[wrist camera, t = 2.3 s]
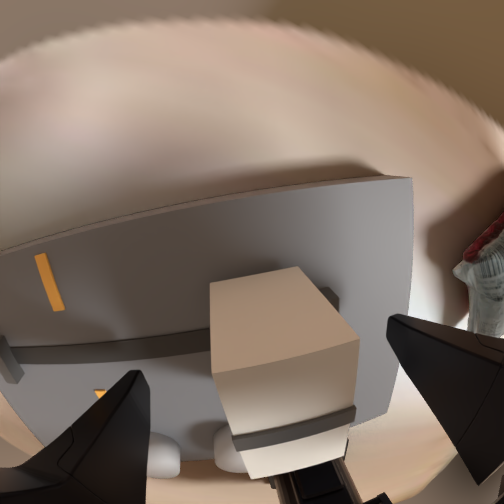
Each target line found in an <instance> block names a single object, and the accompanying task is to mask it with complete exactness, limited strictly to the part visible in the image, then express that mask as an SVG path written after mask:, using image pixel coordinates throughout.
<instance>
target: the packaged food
mask: <svg viewBox="0 0 504 504" xmlns="http://www.w3.org/2000/svg"><path fill="white" fill-rule="evenodd" d="M452 271H453V274H454V276H455V277H457V278H458V279H460V280H461V281H463V282H465V283H466V285H467V288H468V292H469V318H468V327H467V331H470V332H474V333H478V334H482V335H487V336H492V337H497V338H500V337H501V336H502V335H504V211H503V213H502V214H501V215H500V217H499V218H498V220H496V221H495V222H493V223H492V224H491V225H490V226H489V227H488V229H487V230H486V231H485V232H484V233H482V234H481V235H480V236H479V237H478V238H477V239H476V240H475V241H474V242H473V243H472V244H471V245H470V246H469V247H468V248H467V249H466V250H465V251H464V253H463V260H462V261H461V262H460V263H459V264H458V265H457V266H456V267H455V268H454V269H453V270H452Z"/></svg>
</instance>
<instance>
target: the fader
mask: <svg viewBox="0 0 504 504" xmlns="http://www.w3.org/2000/svg"><path fill="white" fill-rule="evenodd" d="M210 339H211V370H212V376H213V379H214V382H215V385H216V388H217V391H218V394H219V397H220V400H221V403H222V406H223V409H224V411H225V414H226V417H227V420H228V423H229V425H230V428H231V431H232V433H233V435H231V437H232V442H233V444H234V447H235V449H236V451H237V452H239V451H240V454H241V456H242V459H243V461H244V464H245V466H246V469H247V471H248V473H249V476H250V478H251V479H256V478H262V477H267V476H272V475H277V474H282V473H286V472H290V471H294V470H298V469H302V468H306V467H310V466H313V465H317V464H320V463H323V462H326V461H330V460H333V459H336V458H339V457H342V456H344V452H345V448H346V443H347V438H348V432H349V427H350V423H352V422H354V421H355V415H356V409H357V408H356V407H355V405H353V401H354V394H355V386H356V378H357V369H358V359H359V348H360V337H359V336H358V335H357V334H356V333H355V332H354V330H353V329H352V328H351V327H350V326H349V324H348V323H347V322H346V321H345V320H344V319H343V317H342V316H341V315H340V314H339V313H338V312H337V310H336V309H335V308H334V307H333V306H332V305H331V304H330V302H329V301H328V300H327V299H326V298H325V297H324V295H323V294H322V293H321V292H320V291H319V290H318V289H317V287H316V286H315V285H314V284H313V283H312V282H311V281H310V279H309V278H308V277H307V276H306V275H305V274H304V273H303V272H302V270H301V269H300V268H299V267H298V266H296V267H291V268H286V269H281V270H276V271H270V272H265V273H260V274H255V275H250V276H244V277H239V278H234V279H229V280H223V281H218V282H212V283H210Z"/></svg>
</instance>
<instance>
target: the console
mask: <svg viewBox="0 0 504 504" xmlns="http://www.w3.org/2000/svg"><path fill="white" fill-rule="evenodd" d="M413 239H414V208H413V183H412V178H410V177H400V176H390V175H381V176H369V177H358V178H348V179H338V180H329V181H320V182H312V183H304V184H296V185H289V186H281V187H274V188H267V189H261V190H254V191H248V192H242V193H236V194H230V195H224V196H218V197H213V198H207V199H202V200H197V201H192V202H186V203H181V204H176V205H172V206H167V207H162V208H157V209H153V210H148V211H144V212H139V213H135V214H131V215H126V216H122V217H118V218H114V219H110V220H106V221H102V222H98V223H94V224H90V225H86V226H83V227H79V228H75V229H72V230H68V231H64V232H61V233H57V234H54V235H51V236H47V237H44V238H41V239H37V240H34V241H31V242H28V243H25V244H21V245H18V246H15V247H12V248H9V249H6V250H3V251H0V391H1V393H2V394H3V396H4V397H5V399H6V400H7V401H8V403H9V404H10V406H11V407H12V408H13V410H14V411H15V412H16V414H17V415H18V416H19V417H20V419H21V420H22V421H23V422H24V424H25V425H26V426H27V427H28V428H29V430H30V431H31V432H32V433H33V434H34V435H35V437H36V438H37V439H38V440H39V441H40V442H41V443H42V444H43V445H44V447H46V446H47V445H49V444H50V443H51V442H52V441H54V440H55V439H56V438H57V437H58V436H59V435H61V434H62V433H63V432H64V431H65V430H66V429H67V428H68V427H69V426H71V425H72V424H73V423H74V422H75V421H76V420H77V419H78V418H79V417H80V416H81V415H82V414H83V413H84V412H85V411H87V410H88V409H89V408H90V407H91V406H92V405H93V404H94V403H95V402H96V401H97V400H98V399H99V398H100V397H101V396H103V395H104V394H105V393H106V392H107V391H108V390H109V389H110V388H111V387H112V386H113V385H114V384H115V383H116V382H117V381H119V380H120V379H121V378H122V377H123V376H124V375H125V374H126V373H127V372H128V371H129V370H137V369H139V370H141V371H142V372H143V374H144V376H145V379H146V381H147V383H148V385H149V387H150V413H151V429H150V440H149V451H148V464H147V477H151V478H158V479H167V478H173V477H175V476H177V475H178V474H179V473H180V461H196V460H208V459H215V464H216V465H217V467H219V468H220V469H222V470H225V471H228V472H234V473H246V472H248V471H247V469H246V466H245V464H244V461H243V459H242V456H241V454H240V451H239V452H237V451H236V449H235V447H234V444H233V442H232V437H231V435H233V433H232V431H231V428H230V425H229V423H228V420H227V417H226V414H225V411H224V409H223V406H222V403H221V400H220V397H219V394H218V391H217V388H216V385H215V382H214V379H213V376H212V370H211V339H210V283H212V282H218V281H223V280H229V279H234V278H239V277H244V276H250V275H255V274H260V273H265V272H270V271H276V270H281V269H286V268H291V267H296V266H298V267H299V268H300V269H301V270H302V272H303V273H304V274H305V275H306V276H307V277H308V278H309V279H310V281H311V282H312V283H313V284H314V285H315V286H316V287H317V289H318V290H319V291H320V292H321V293H322V294H323V295H324V297H325V298H326V299H327V300H328V301H329V302H330V304H331V305H332V306H333V307H334V308H335V309H336V310H337V312H338V313H339V314H340V315H341V316H342V317H343V319H344V320H345V321H346V322H347V323H348V324H349V326H350V327H351V328H352V329H353V330H354V332H355V333H356V334H357V335H358V336H359V337H360V348H359V359H358V369H357V378H356V386H355V394H354V401H353V405H355V407H356V408H357V409H356V415H355V421H354V422H352V423H350V427H353V426H356V425H358V424H361V423H364V422H366V421H369V420H371V419H373V418H376V417H378V416H381V415H383V414H385V413H387V410H388V407H389V403H390V400H391V396H392V392H393V388H394V384H395V380H396V376H397V371H398V367H399V360H398V359H397V357H396V355H395V353H394V351H393V350H392V348H391V346H390V344H389V343H388V341H387V338H386V329H387V320H388V317H389V316H391V315H394V314H397V313H399V314H403V315H408V308H409V299H410V289H411V278H412V263H413ZM350 427H349V428H350Z"/></svg>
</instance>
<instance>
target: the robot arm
mask: <svg viewBox="0 0 504 504" xmlns="http://www.w3.org/2000/svg"><path fill="white" fill-rule="evenodd" d="M386 338H387V341H388V343H389V344H390V346H391V348H392V350H393V351H394V353H395V355H396V357H397V359H398V360H399V362H400V364H401V366H402V368H403V369H404V371H405V372H406V374H407V375H408V377H409V378H410V379H411V381H412V382H413V384H414V385H415V387H416V388H417V390H418V391H419V392H420V394H421V395H422V397H423V398H424V400H425V401H426V403H427V404H428V406H429V407H430V409H431V410H432V412H433V413H434V415H435V416H436V418H437V419H438V421H439V422H440V424H441V426H442V427H443V429H444V430H445V432H446V433H447V435H448V437H449V438H450V440H451V441H452V443H453V445H454V446H455V448H456V450H457V451H458V453H459V455H460V456H461V458H462V459H463V461H464V463H465V465H466V466H467V468H468V470H469V472H470V473H471V475H472V477H473V479H474V480H475V482H476V484H477V485H478V486H479V485H480V484H482V483H483V482H484V481H485V480H486V479H487V478H488V477H490V476H491V475H492V474H493V473H494V472H495V471H496V470H497V469H498V468H499V467H500V466H502V465H503V464H504V339H503V338H497V337H492V336H487V335H482V334H478V333H474V332H470V331H466V330H462V329H458V328H454V327H450V326H446V325H442V324H438V323H434V322H430V321H426V320H422V319H418V318H414V317H411V316H407V315H403V314H399V313H397V314H394V315H391V316H389V317H388V320H387V329H386ZM150 429H151V413H150V387H149V385H148V383H147V381H146V379H145V376H144V374H143V372H142V371H141V370H139V369H137V370H129V371H128V372H127V373H126V374H125V375H124V376H123V377H122V378H121V379H120V380H119V381H117V382H116V383H115V384H114V385H113V386H112V387H111V388H110V389H109V390H108V391H107V392H106V393H105V394H104V395H103V396H101V397H100V398H99V399H98V400H97V401H96V402H95V403H94V404H93V405H92V406H91V407H90V408H89V409H88V410H87V411H85V412H84V413H83V414H82V415H81V416H80V417H79V418H78V419H77V420H76V421H75V422H74V423H73V424H72V425H71V426H69V427H68V428H67V429H66V430H65V431H64V432H63V433H62V434H61V435H59V436H58V437H57V438H56V439H55V440H54V441H52V442H51V443H50V444H49V445H47V446H46V447H45V448H44V449H42V450H41V451H40V452H38V453H37V454H36V455H34V456H33V457H32V458H30V459H29V460H28V461H26V462H25V463H23V464H22V465H20V466H17V467H12V468H0V504H146V480H147V464H148V451H149V440H150ZM348 441H349V439H348V438H347V443H346V448H345V452H344V456H342V457H339V458H336V459H333V460H330V461H326V462H323V463H320V464H317V465H313V466H310V467H306V468H302V469H298V470H294V471H290V472H286V473H282V474H277V475H272V476H268V478H269V482H270V485H271V488H272V489H276V490H277V494H278V498H279V501H280V504H392V502H391V501H390V499H389V498H388V496H387V495H386V494H385V492H384V493H382V494H379V495H377V497H375V498H373V499H371V500H369V501H367V502H364V503H363V502H362V499H361V497H360V495H359V493H358V491H357V489H356V487H355V484H354V482H353V480H352V478H351V476H350V474H349V472H348V469H347V467H346V465H345V463H344V460H345V455H346V451H347V446H348ZM492 504H504V475H503V476H502V480H501V485H500V490H499V495H498V498H497V499H496V500H495V501H494V502H493V503H492Z"/></svg>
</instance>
